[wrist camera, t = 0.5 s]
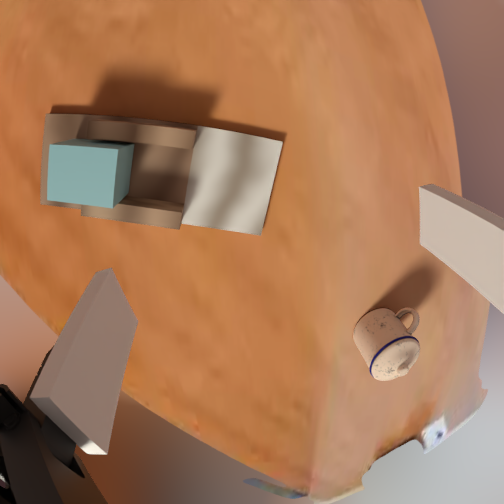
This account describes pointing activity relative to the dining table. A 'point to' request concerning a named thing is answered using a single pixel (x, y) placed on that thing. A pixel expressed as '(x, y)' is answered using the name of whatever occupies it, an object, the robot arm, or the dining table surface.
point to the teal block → (89, 172)
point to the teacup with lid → (387, 342)
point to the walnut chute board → (177, 172)
